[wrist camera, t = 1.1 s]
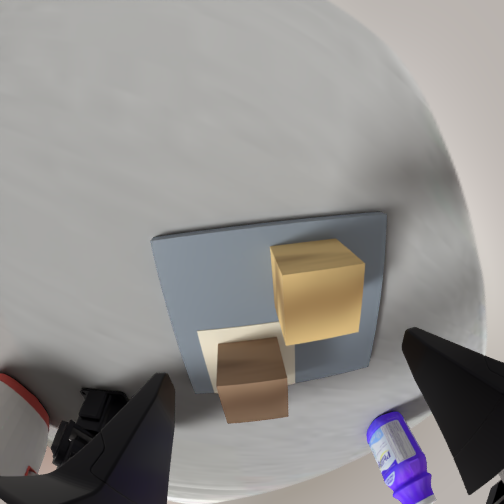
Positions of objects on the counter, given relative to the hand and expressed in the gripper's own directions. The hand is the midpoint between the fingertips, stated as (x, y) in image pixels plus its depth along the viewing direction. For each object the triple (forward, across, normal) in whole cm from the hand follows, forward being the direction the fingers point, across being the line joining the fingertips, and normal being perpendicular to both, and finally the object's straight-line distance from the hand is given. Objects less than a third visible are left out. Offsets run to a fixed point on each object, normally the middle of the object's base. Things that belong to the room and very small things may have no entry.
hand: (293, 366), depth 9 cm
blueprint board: (+12, -1, +6) cm, 14 cm away
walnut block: (+11, +2, +10) cm, 15 cm away
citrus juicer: (+12, +40, +20) cm, 47 cm away
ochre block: (+12, -3, +2) cm, 12 cm away
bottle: (+13, -15, +31) cm, 36 cm away
